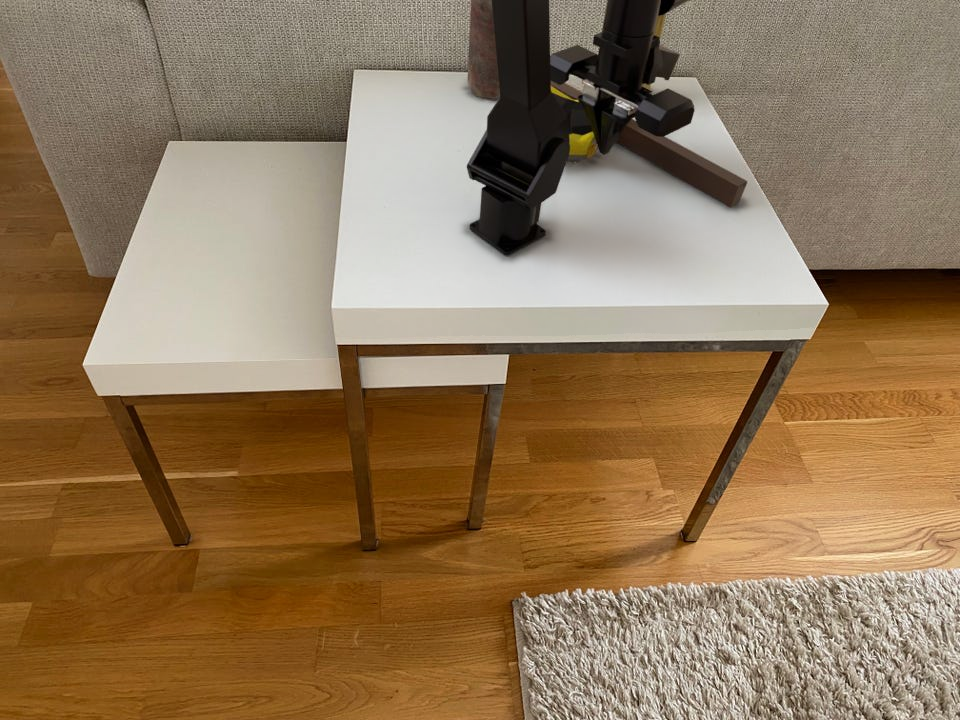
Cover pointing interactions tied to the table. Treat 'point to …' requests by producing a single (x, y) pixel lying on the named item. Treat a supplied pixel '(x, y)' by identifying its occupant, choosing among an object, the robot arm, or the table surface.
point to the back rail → (676, 159)
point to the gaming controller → (579, 132)
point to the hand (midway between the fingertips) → (604, 153)
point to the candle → (482, 51)
